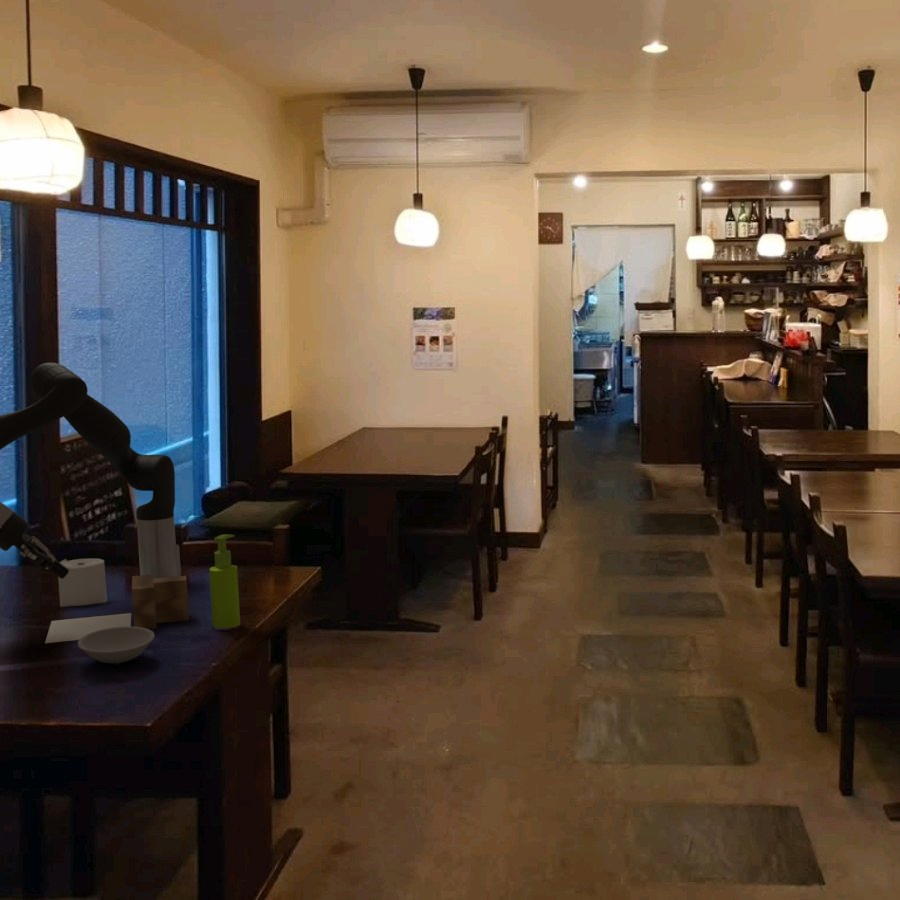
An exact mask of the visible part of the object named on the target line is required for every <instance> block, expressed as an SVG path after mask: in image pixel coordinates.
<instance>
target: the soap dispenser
mask: <svg viewBox="0 0 900 900" xmlns="http://www.w3.org/2000/svg"><path fill="white" fill-rule="evenodd" d="M230 538H235V534H220V535H218V536H216V537H214V542H217V550H216V551H214V566H212V567H210V568H209V586H210V599H211V601H210V602H211V615H212V617H211V618H212V619H211V620H212V627H213V626H214V627H217V628H230V627H236V626H238V625H240V626H241V615H240V614H241V612H240V611H241V610H240V596H239V595H240V593H239V580H238V579H239V577H238V574H239V573H238V566H237V565H235V564H234V565H233V564H232V554H231V550H229V549H227V541H226V540H228V539H230Z"/></svg>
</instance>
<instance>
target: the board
mask: <svg viewBox="0 0 900 900" xmlns="http://www.w3.org/2000/svg"><path fill="white" fill-rule="evenodd" d="M125 626H131V627H132V613H131V612H130V613H120V614H119V613H118V614H117V613H116V614H110V615H109V614H108V615H107V614H106V615H98V616H97V615H96V616H90V617H89V616H88V617H79V618H78V617H77V618H69V619H59V620H58V619H57V620H51V622H50V625H49V628H48V632H47V636H46V639H45V642H44V644H53V643H61V642H62V643H63V642H69V641H72V642H73V641H79V640H80V639H81V638H82V637H83V636H85V635H87V634H89V633H92V632H95V631H98V630H102V629H107V628H113V627H125Z"/></svg>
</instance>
